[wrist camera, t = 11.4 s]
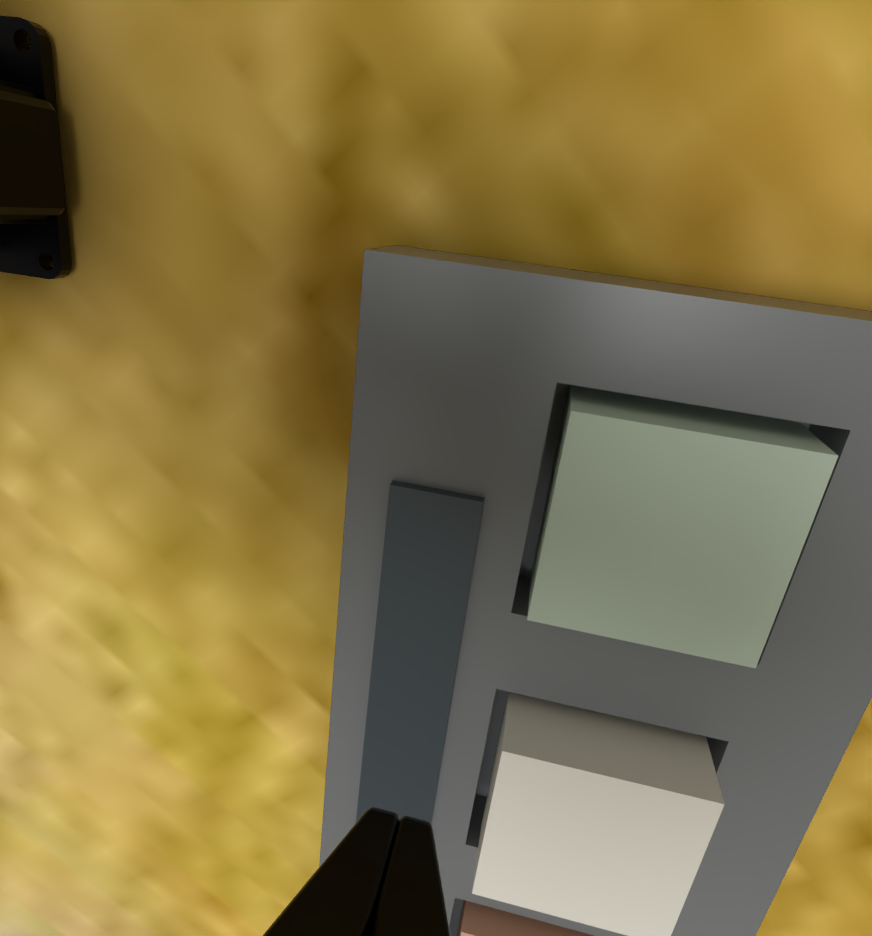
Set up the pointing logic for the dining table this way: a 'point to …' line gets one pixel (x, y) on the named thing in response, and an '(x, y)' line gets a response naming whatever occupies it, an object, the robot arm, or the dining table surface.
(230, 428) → the dining table surface
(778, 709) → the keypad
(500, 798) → the key offwhite
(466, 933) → the key terracotta
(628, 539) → the key sage
